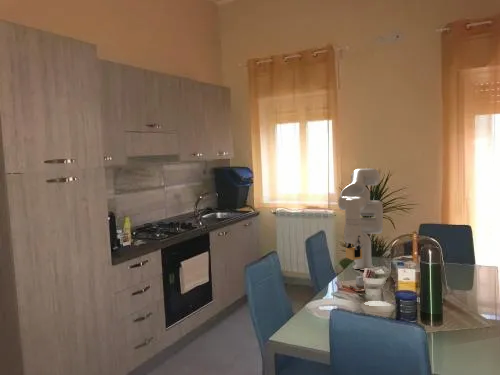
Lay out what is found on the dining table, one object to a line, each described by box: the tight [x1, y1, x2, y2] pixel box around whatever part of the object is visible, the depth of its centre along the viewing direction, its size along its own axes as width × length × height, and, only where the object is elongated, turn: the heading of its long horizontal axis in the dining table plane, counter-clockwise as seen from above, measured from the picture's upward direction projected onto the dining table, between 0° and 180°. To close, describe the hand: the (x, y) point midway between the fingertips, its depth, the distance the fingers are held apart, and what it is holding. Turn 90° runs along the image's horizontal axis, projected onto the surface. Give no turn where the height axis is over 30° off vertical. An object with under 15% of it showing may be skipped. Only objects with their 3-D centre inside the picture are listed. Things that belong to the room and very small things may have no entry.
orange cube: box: [345, 246, 362, 261], centre depth 211 cm, size 6×6×5 cm
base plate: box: [349, 283, 364, 290], centre depth 210 cm, size 8×8×2 cm
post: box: [355, 275, 365, 287], centre depth 210 cm, size 3×3×5 cm
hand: (353, 255), depth 211 cm, fingers closed on orange cube, 6 cm apart
